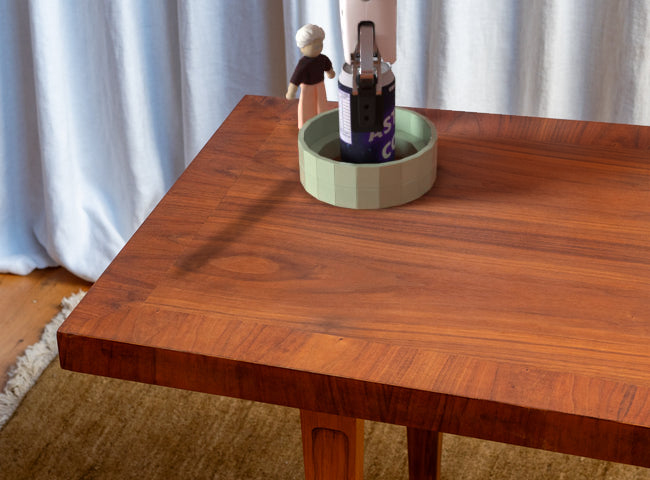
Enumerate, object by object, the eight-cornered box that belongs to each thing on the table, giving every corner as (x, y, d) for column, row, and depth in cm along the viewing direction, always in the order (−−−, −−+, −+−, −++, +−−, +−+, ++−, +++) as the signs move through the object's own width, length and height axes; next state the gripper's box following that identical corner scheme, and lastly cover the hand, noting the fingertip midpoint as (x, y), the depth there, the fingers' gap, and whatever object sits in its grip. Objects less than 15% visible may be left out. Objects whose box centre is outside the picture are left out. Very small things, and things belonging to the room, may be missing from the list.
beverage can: (371, 194, 90) (369, 82, 83) (330, 178, 93) (325, 68, 86) (405, 173, 93) (407, 63, 86) (365, 158, 97) (363, 51, 89)
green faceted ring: (430, 148, 99) (432, 102, 96) (439, 214, 88) (442, 165, 84) (304, 151, 100) (302, 105, 96) (297, 217, 89) (294, 168, 85)
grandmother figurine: (313, 148, 100) (307, 38, 92) (284, 141, 102) (276, 33, 94) (346, 121, 105) (343, 15, 97) (318, 115, 107) (313, 10, 99)
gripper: (412, -47, 71) (407, 155, 82) (404, -99, 85) (401, 81, 96) (319, -44, 71) (327, 157, 83) (326, -96, 85) (332, 82, 96)
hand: (367, 114), depth 89 cm, fingers open, 5 cm apart
